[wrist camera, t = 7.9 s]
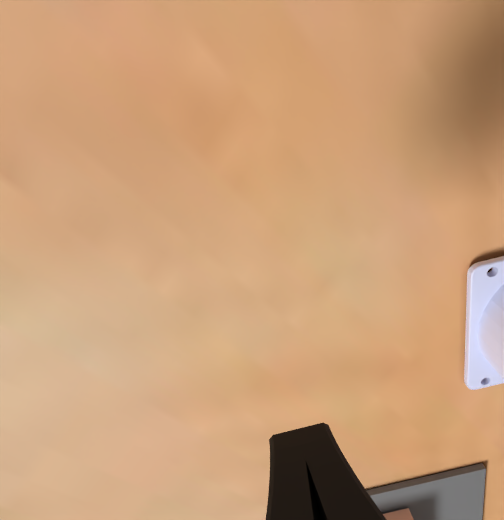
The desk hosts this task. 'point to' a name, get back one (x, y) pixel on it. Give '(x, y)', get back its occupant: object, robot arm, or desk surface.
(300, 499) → the robot arm
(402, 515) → the block
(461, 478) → the mat
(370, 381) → the desk surface
